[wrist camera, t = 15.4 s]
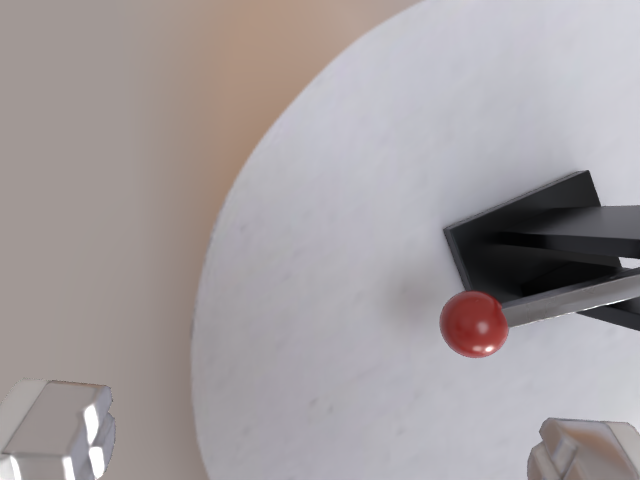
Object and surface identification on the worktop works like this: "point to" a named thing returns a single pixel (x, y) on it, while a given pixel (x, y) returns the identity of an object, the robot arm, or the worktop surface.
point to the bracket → (549, 245)
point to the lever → (524, 311)
